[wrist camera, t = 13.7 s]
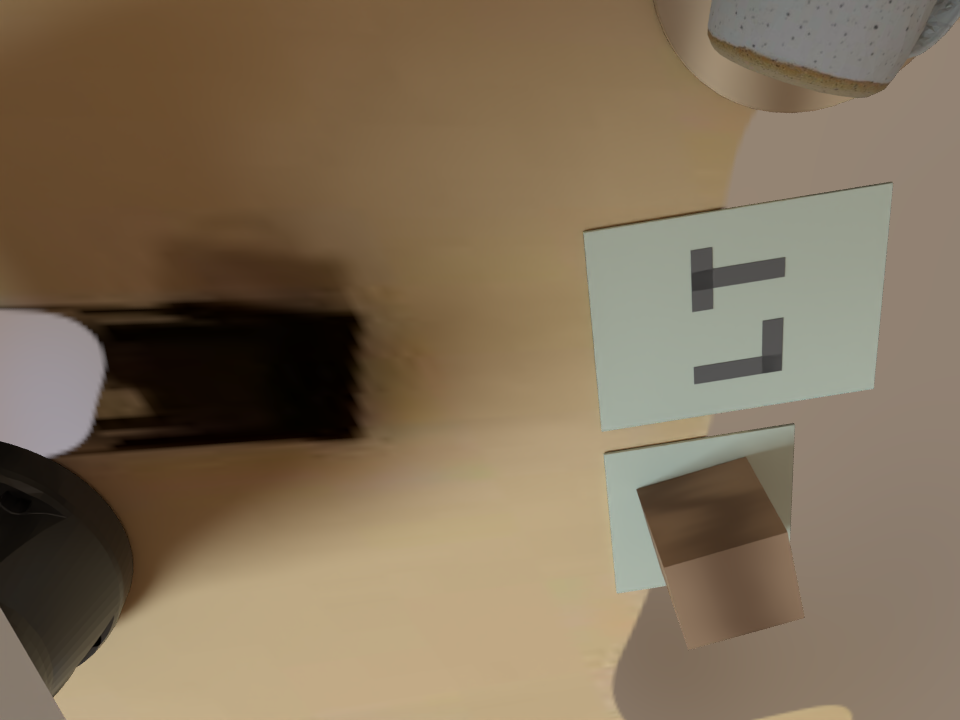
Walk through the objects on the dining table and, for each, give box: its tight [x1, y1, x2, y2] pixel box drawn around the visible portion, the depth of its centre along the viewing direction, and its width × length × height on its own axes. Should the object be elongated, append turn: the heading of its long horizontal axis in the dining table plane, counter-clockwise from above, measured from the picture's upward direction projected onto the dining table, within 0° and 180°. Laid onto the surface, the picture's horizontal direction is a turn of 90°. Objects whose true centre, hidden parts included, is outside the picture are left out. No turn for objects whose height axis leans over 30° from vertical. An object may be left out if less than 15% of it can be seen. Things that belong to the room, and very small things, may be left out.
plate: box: [604, 423, 795, 593], centre depth 48 cm, size 10×10×1 cm
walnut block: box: [636, 457, 804, 650], centre depth 46 cm, size 6×6×6 cm
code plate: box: [583, 182, 893, 432], centre depth 42 cm, size 14×11×1 cm
